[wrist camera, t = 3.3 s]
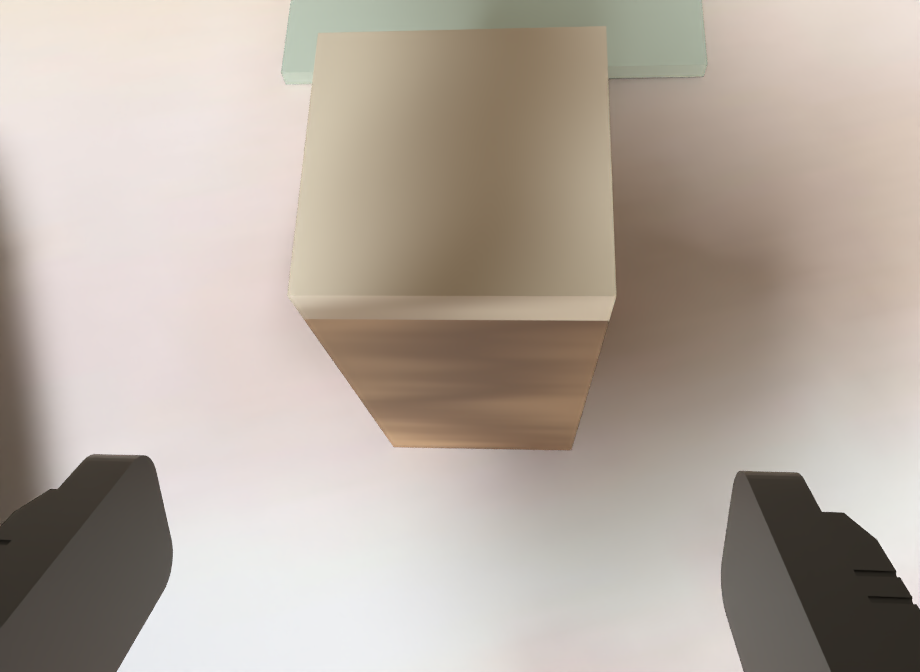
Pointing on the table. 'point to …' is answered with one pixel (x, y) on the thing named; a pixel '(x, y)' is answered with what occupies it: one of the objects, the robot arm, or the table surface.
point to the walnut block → (460, 229)
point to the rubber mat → (516, 6)
